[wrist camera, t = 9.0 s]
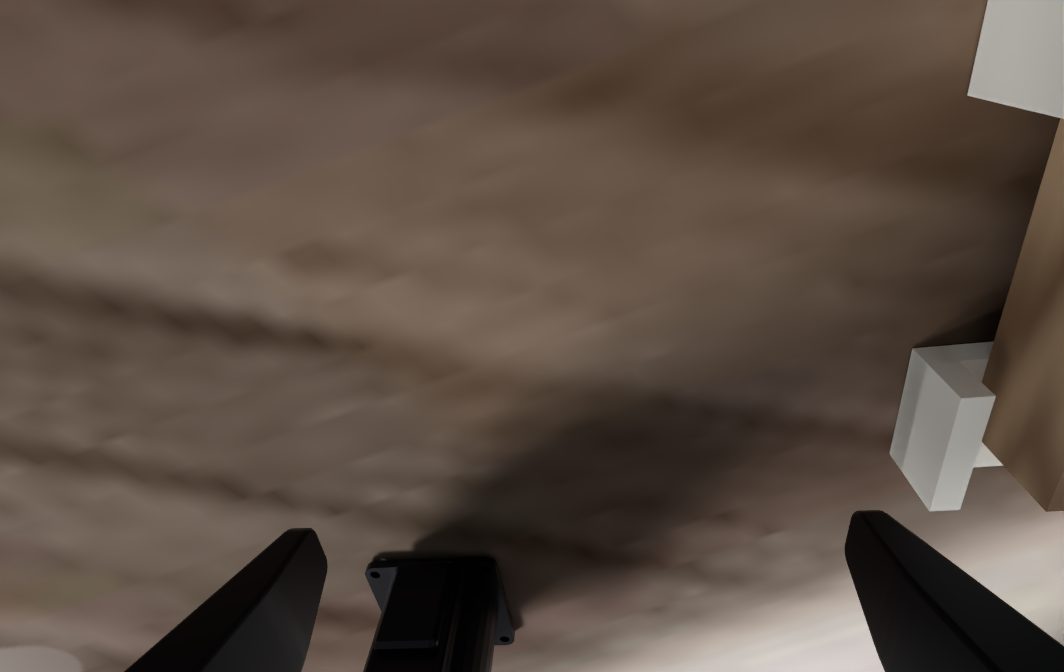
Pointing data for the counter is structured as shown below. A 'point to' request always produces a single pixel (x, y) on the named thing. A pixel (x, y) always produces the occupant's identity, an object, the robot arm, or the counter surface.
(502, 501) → the counter surface
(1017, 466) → the rail
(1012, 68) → the rail brackets
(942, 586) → the robot arm
